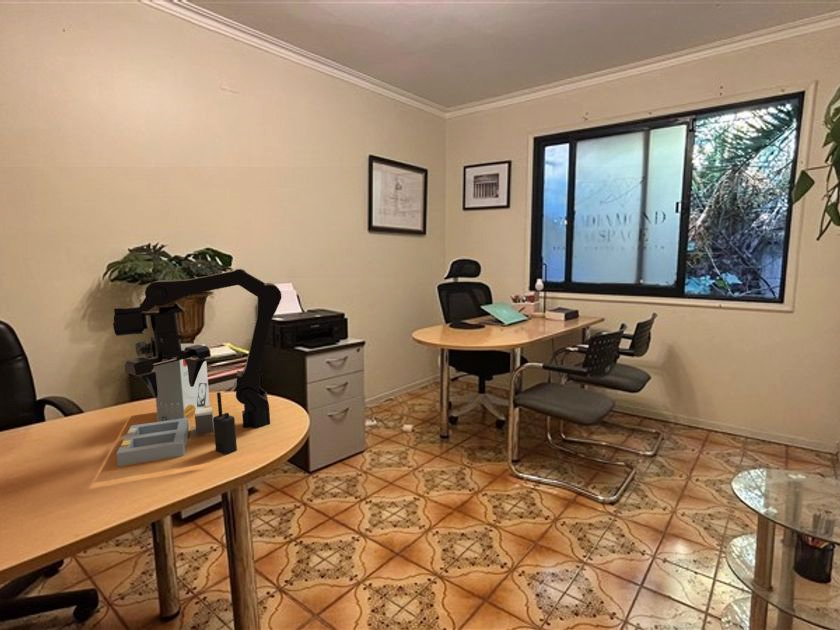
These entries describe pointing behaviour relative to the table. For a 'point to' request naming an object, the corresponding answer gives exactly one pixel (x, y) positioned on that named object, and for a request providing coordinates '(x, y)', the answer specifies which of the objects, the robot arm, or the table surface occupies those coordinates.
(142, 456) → the dock
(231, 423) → the walkie-talkie
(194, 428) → the brown flat square plate
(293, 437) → the table surface
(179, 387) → the hard drive box
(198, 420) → the plug
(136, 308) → the robot arm
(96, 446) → the table surface
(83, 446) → the table surface
